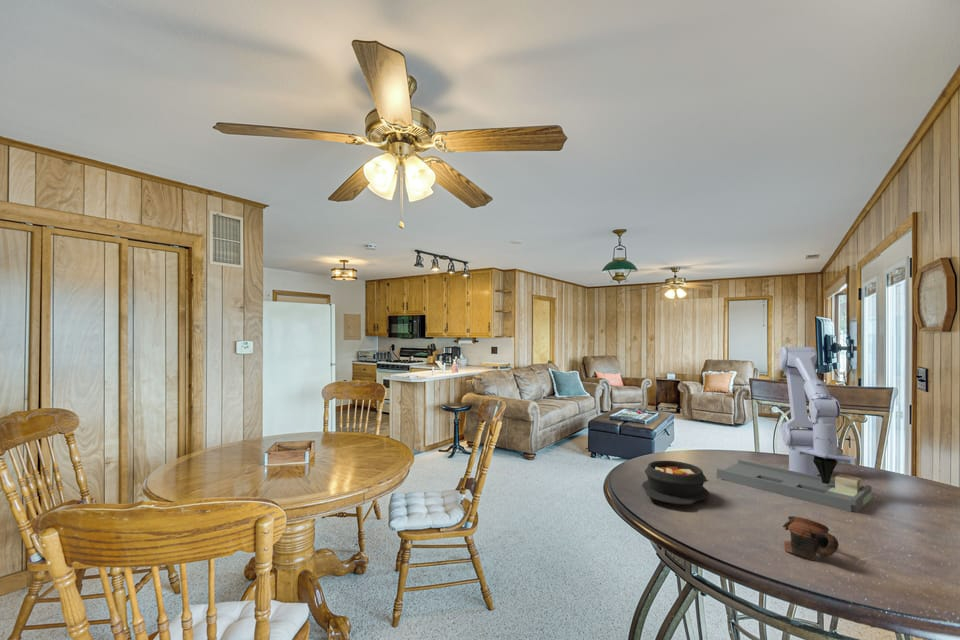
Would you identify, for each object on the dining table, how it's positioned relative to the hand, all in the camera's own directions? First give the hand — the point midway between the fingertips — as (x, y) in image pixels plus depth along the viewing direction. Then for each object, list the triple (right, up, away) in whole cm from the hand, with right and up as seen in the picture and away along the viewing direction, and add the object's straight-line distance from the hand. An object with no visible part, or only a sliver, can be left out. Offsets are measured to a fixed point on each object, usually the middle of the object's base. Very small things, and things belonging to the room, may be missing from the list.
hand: (826, 482), depth 132 cm
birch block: (+3, -1, -5) cm, 5 cm away
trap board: (-8, -3, +4) cm, 10 cm away
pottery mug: (-33, -2, -36) cm, 49 cm away
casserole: (-47, -3, -2) cm, 47 cm away
